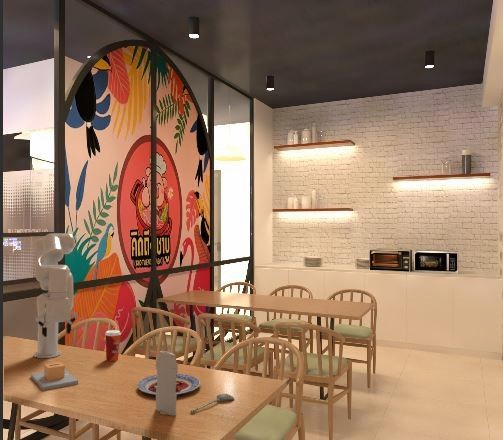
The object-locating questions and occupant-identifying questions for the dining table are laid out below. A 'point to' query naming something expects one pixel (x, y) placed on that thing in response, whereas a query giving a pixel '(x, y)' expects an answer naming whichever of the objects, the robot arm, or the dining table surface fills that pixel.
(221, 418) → the dining table surface
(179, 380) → the ceramic plate
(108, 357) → the paper cup
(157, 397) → the tall pale column
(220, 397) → the soupspoon
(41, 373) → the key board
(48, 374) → the tan slotted block
